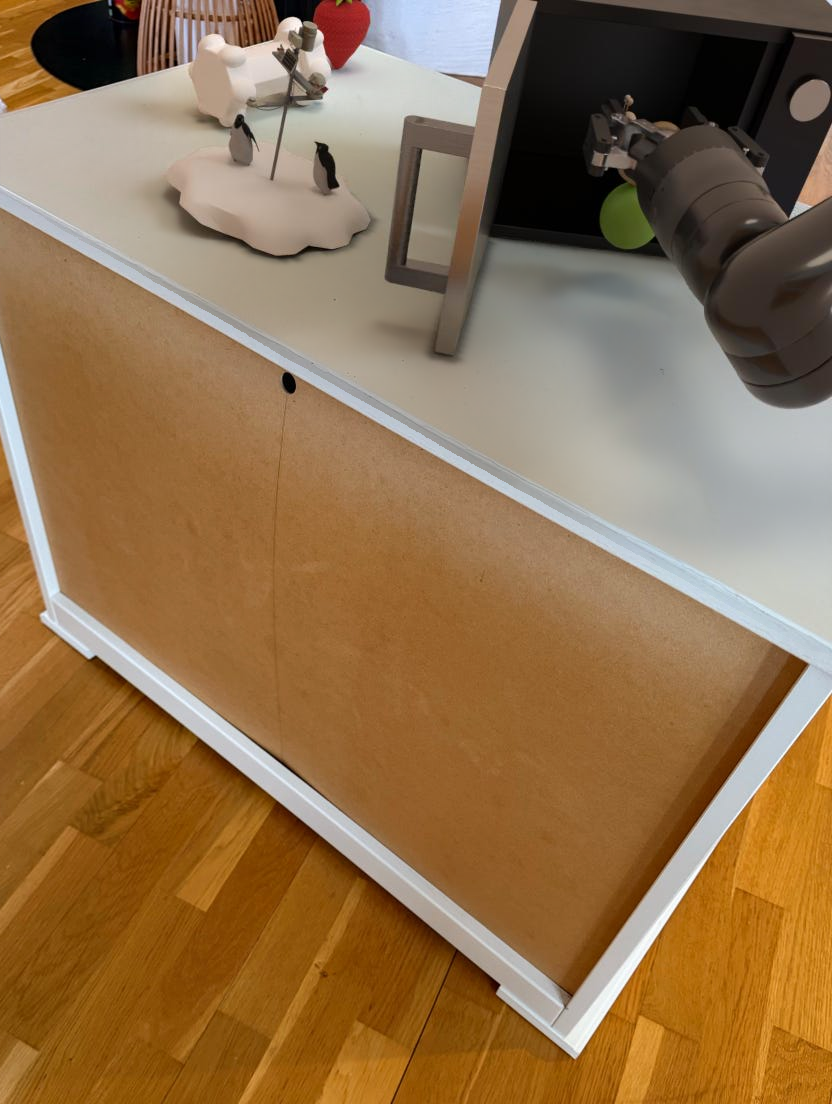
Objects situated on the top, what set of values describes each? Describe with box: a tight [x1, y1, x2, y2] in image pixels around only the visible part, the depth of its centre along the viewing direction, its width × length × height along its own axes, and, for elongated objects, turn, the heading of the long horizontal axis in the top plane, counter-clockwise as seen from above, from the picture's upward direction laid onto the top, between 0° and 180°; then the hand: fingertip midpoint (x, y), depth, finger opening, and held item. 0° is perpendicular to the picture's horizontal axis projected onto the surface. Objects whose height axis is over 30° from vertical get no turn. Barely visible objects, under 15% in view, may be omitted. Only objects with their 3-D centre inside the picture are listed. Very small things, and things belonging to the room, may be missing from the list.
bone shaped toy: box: [187, 16, 332, 128], centre depth 102 cm, size 15×9×8 cm, turn 137°
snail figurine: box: [600, 95, 680, 249], centre depth 79 cm, size 5×6×12 cm
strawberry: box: [312, 0, 371, 70], centre depth 113 cm, size 6×8×10 cm
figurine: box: [163, 20, 371, 256], centre depth 83 cm, size 20×18×16 cm
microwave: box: [487, 0, 832, 258], centre depth 89 cm, size 22×28×20 cm
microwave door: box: [384, 0, 537, 356], centre depth 75 cm, size 7×22×20 cm, turn 167°
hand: (646, 115), depth 77 cm, fingers closed on snail figurine, 6 cm apart
